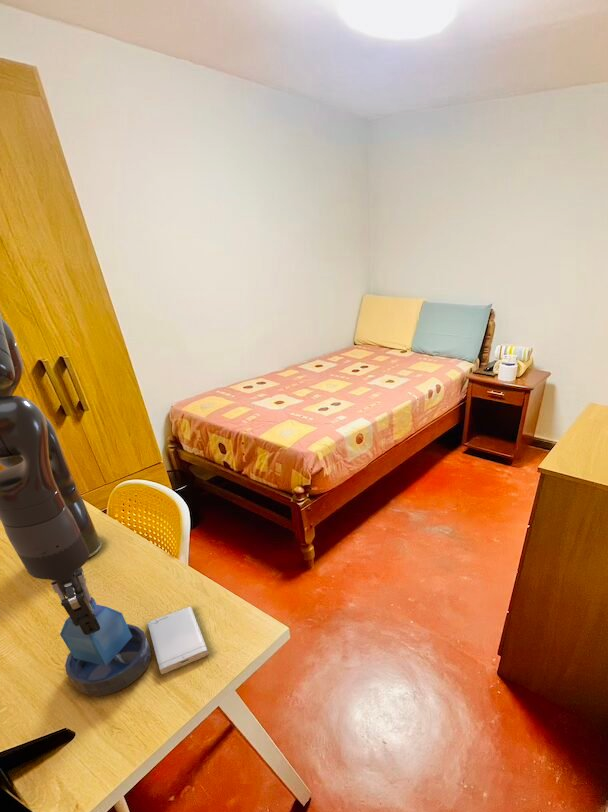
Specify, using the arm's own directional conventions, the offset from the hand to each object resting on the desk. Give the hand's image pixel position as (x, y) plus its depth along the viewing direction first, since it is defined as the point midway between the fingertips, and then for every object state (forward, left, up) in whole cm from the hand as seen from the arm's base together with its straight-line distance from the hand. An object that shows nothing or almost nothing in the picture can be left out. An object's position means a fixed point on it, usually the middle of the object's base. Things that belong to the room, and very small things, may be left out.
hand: (89, 618), depth 69 cm
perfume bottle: (0, 0, -8) cm, 8 cm away
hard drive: (+1, +11, -13) cm, 17 cm away
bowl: (0, 0, -13) cm, 13 cm away
